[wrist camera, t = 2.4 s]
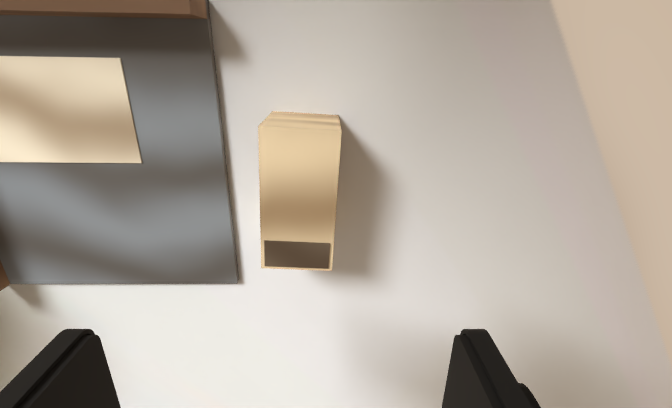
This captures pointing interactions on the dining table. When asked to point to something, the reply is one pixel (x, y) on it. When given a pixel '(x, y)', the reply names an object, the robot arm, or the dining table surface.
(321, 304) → the dining table surface
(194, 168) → the corner arena
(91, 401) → the robot arm
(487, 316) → the dining table surface
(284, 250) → the maple block
